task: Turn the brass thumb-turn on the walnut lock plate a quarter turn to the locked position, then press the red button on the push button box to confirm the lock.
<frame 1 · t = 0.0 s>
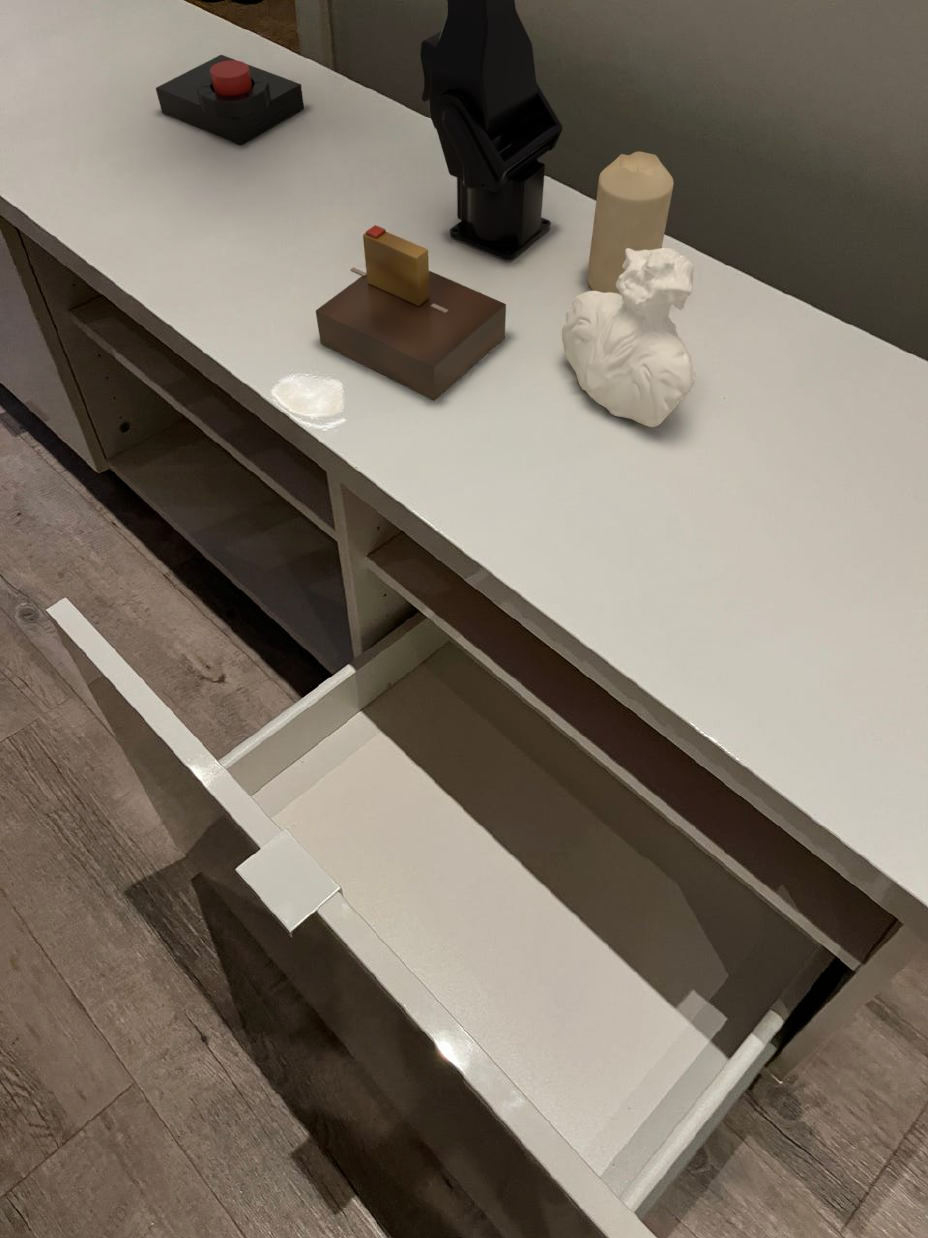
lock plate: (413, 340, 71), on the table
push button box: (233, 110, 92), on the table
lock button: (231, 78, 87), point 5 cm above the table, slide at 0.2 cm
bust: (626, 389, 68), on the table
thumbturn: (396, 265, 68), point 5 cm above the table, hinge at 0.0°
candle: (620, 283, 75), on the table
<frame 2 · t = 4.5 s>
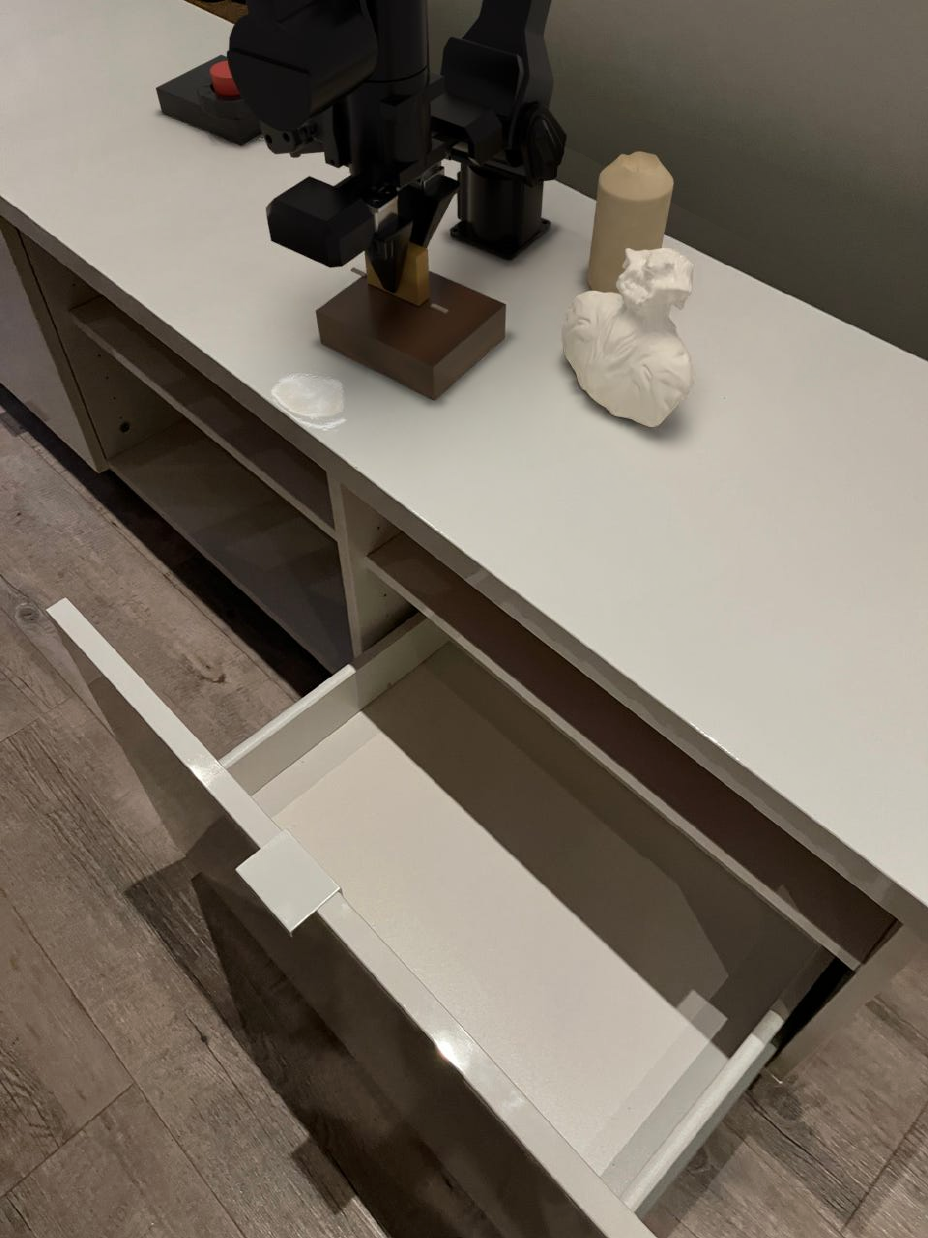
hand: (398, 284, 69), 4 cm above the table, tool pointing down, fingers closed on thumbturn
thumbturn: (396, 265, 68), point 5 cm above the table, hinge at 0.1°, touching gripper
everything else where it was.
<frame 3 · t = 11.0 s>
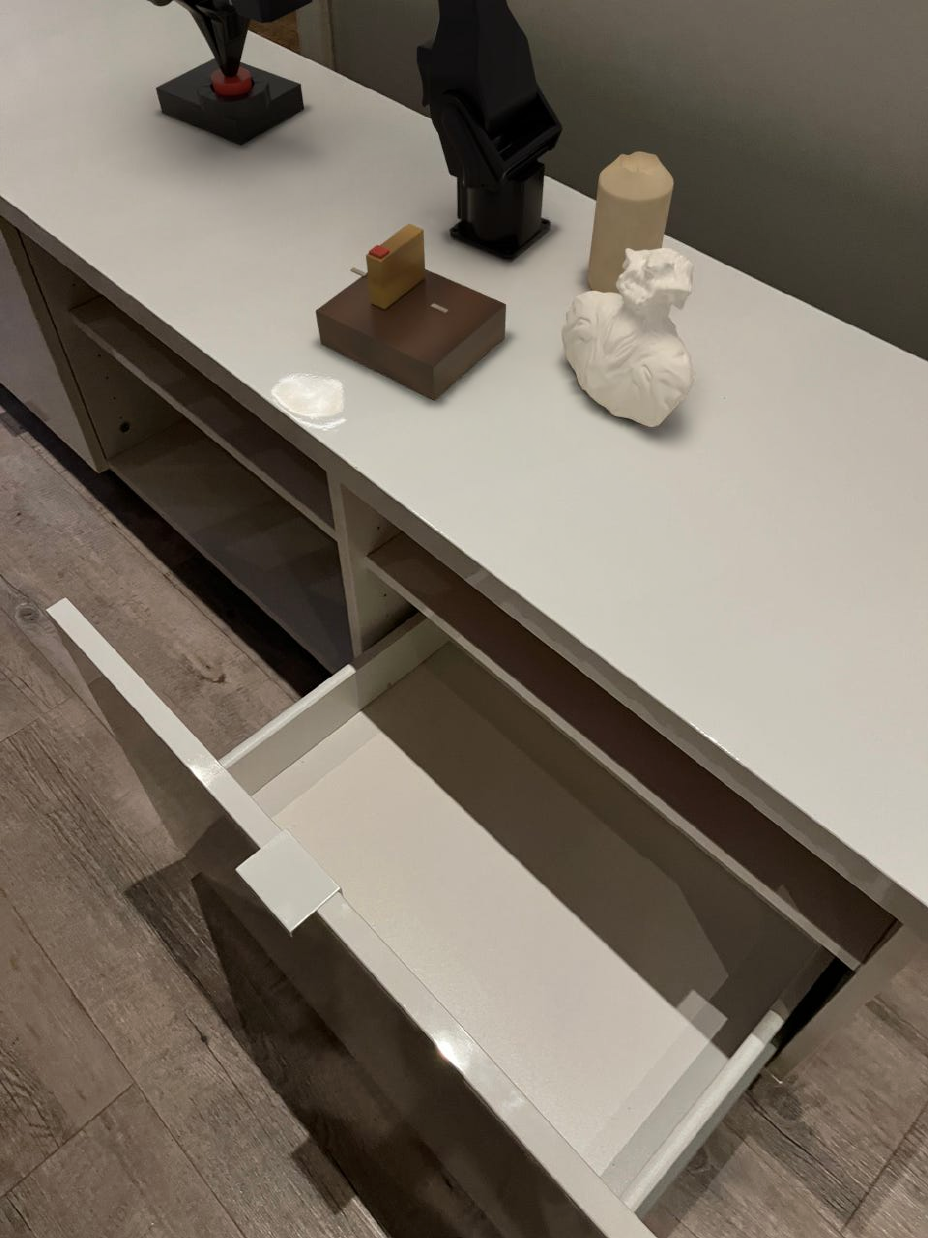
hand: (230, 74, 86), 5 cm above the table, tool pointing down, fingers closed, pressing on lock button
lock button: (232, 84, 87), point 4 cm above the table, slide at -0.4 cm, touching gripper
thumbturn: (396, 265, 68), point 5 cm above the table, hinge at 90.0°
everything else where it was.
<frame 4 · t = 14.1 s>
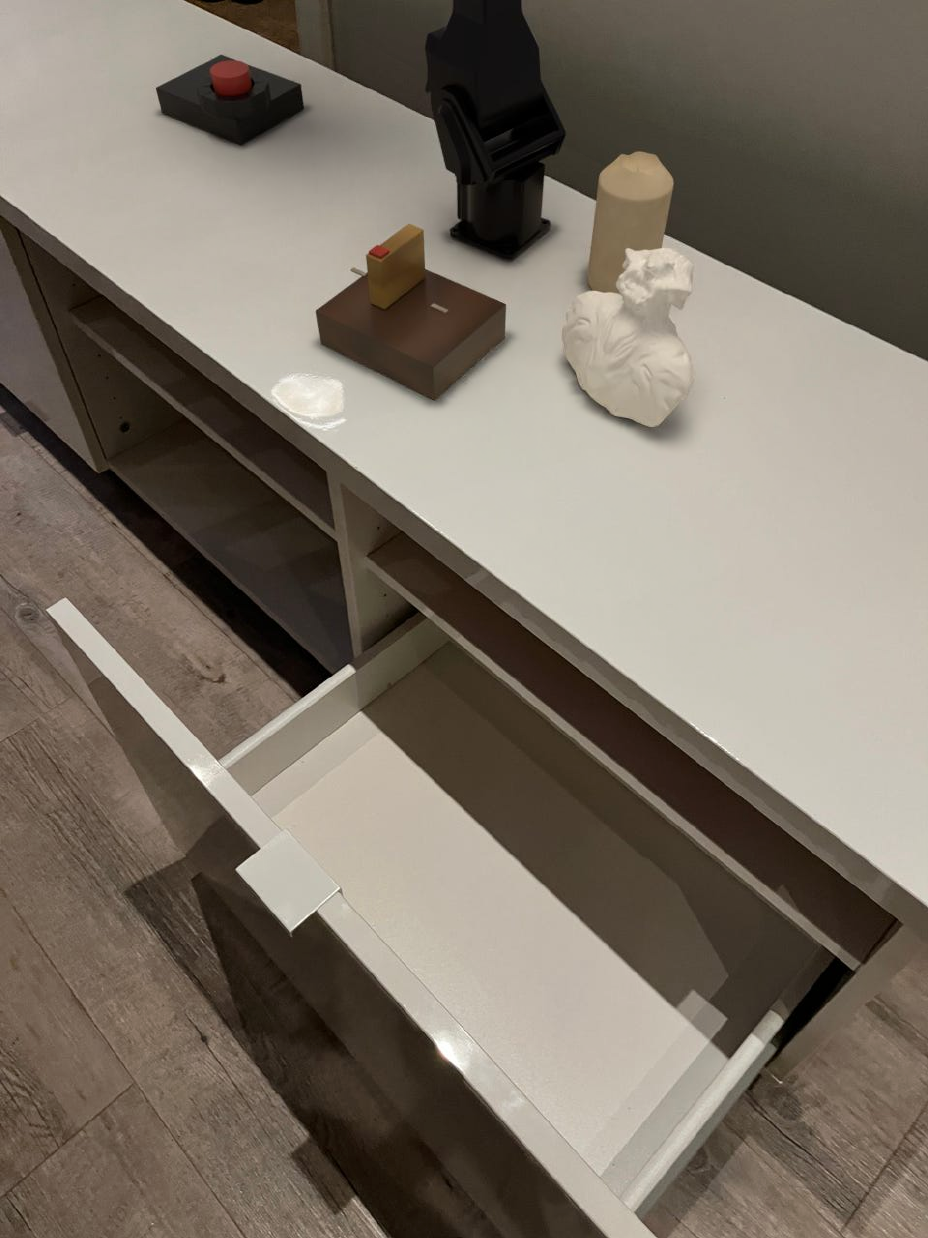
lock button: (231, 78, 87), point 5 cm above the table, slide at 0.2 cm
everything else where it was.
at the end: thumbturn at +90° (first picture: +0°); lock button pushed in 0.9 cm at the most during the clip, back to 0.2 cm at the end; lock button slide at 0.2 cm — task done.
